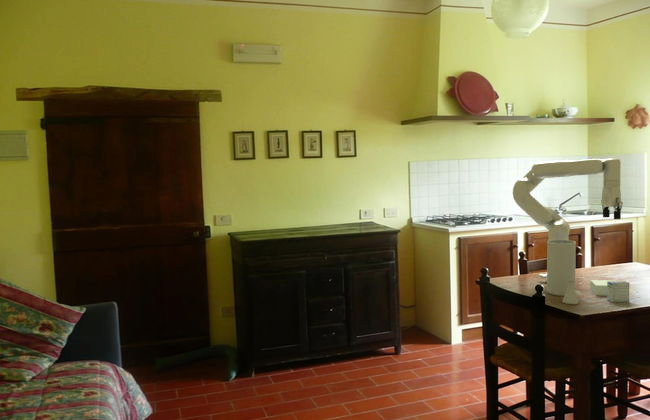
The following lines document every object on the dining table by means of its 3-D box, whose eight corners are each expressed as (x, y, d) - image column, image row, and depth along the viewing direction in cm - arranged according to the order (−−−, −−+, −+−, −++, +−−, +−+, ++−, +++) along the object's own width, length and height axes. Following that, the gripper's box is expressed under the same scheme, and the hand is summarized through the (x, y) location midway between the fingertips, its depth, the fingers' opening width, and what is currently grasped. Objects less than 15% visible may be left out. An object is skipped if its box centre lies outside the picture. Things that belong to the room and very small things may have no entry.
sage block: (595, 295, 266) (595, 285, 266) (590, 289, 278) (590, 279, 278) (623, 296, 263) (623, 286, 263) (616, 290, 275) (617, 280, 275)
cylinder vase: (550, 296, 266) (551, 243, 264) (544, 290, 279) (544, 239, 276) (578, 296, 265) (579, 243, 262) (570, 290, 277) (571, 239, 275)
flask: (564, 300, 259) (564, 278, 258) (581, 302, 254) (581, 280, 254) (559, 303, 253) (559, 281, 253) (576, 305, 249) (577, 283, 248)
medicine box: (623, 299, 257) (624, 280, 257) (629, 301, 253) (629, 282, 252) (606, 299, 257) (607, 281, 256) (612, 302, 253) (612, 283, 252)
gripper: (595, 183, 288) (595, 216, 289) (614, 184, 271) (614, 220, 272) (609, 182, 288) (609, 216, 290) (629, 184, 271) (629, 219, 273)
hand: (611, 218), depth 281 cm, fingers open, 9 cm apart
